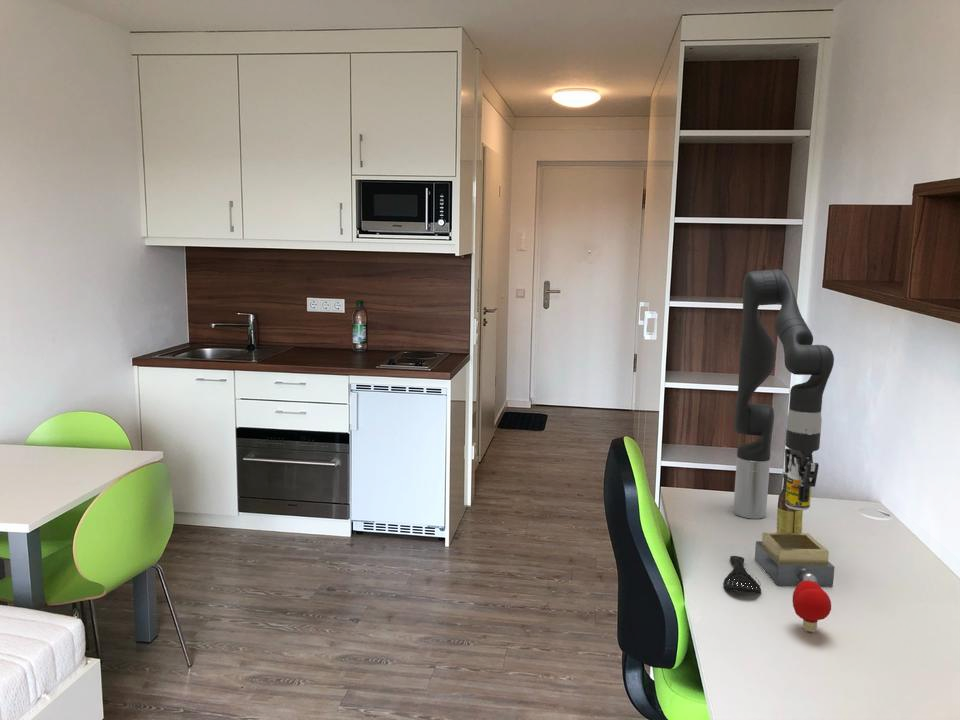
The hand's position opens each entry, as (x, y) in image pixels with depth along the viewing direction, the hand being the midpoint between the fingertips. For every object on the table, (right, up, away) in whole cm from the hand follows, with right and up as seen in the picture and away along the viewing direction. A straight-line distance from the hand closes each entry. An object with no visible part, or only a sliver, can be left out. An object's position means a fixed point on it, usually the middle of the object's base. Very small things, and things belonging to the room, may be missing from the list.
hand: (798, 497), depth 183 cm
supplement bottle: (0, -3, 0) cm, 3 cm away
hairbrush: (-14, -20, 0) cm, 24 cm away
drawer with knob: (0, -19, +1) cm, 19 cm away
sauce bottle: (+6, -17, +21) cm, 27 cm away
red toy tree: (-9, -23, -26) cm, 36 cm away
